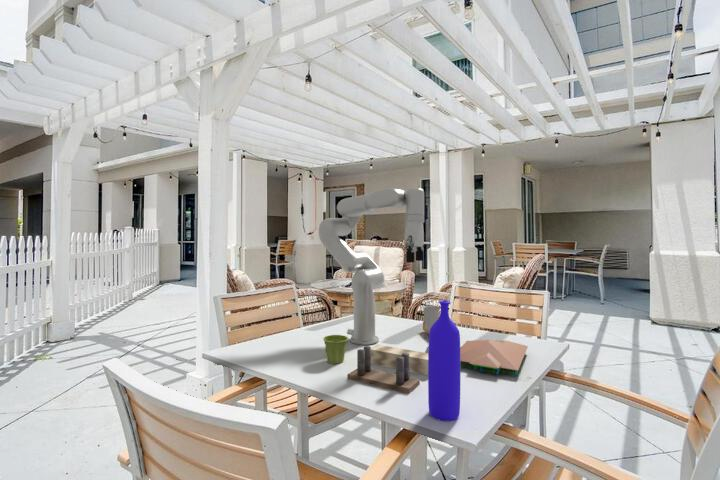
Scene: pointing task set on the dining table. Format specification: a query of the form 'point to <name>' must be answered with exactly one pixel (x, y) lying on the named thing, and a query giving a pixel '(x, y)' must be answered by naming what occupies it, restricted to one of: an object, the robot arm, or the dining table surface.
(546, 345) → the dining table surface
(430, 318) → the chalice
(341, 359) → the plant pot
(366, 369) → the peg stand
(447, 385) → the bottle
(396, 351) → the shelf board
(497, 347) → the house
